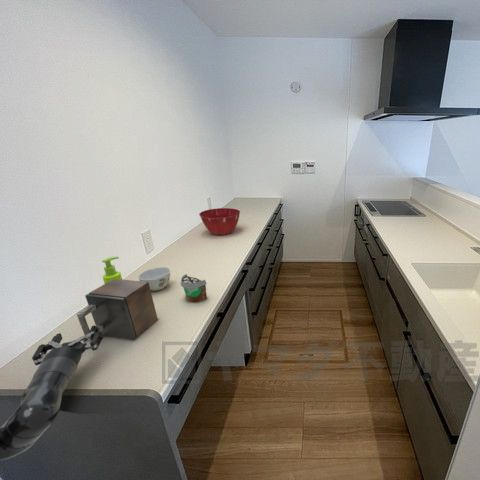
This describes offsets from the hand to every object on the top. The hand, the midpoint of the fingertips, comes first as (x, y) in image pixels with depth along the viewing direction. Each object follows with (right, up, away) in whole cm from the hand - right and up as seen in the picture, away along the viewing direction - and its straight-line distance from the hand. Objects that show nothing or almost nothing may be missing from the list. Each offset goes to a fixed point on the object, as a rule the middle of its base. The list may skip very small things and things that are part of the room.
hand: (77, 331), depth 83 cm
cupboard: (+6, -4, +15) cm, 17 cm away
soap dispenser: (-9, +2, +30) cm, 32 cm away
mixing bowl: (+3, +35, +116) cm, 121 cm away
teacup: (0, +6, +40) cm, 40 cm away
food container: (+21, +2, +32) cm, 38 cm away
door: (+5, -6, +7) cm, 11 cm away
